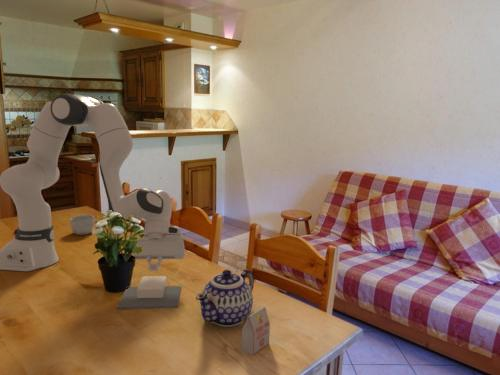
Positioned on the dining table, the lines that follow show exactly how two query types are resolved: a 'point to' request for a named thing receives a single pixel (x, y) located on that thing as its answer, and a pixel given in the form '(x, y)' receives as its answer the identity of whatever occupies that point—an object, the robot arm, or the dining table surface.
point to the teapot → (227, 298)
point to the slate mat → (150, 299)
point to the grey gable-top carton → (256, 332)
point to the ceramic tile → (152, 287)
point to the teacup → (82, 224)
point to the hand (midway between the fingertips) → (153, 270)
